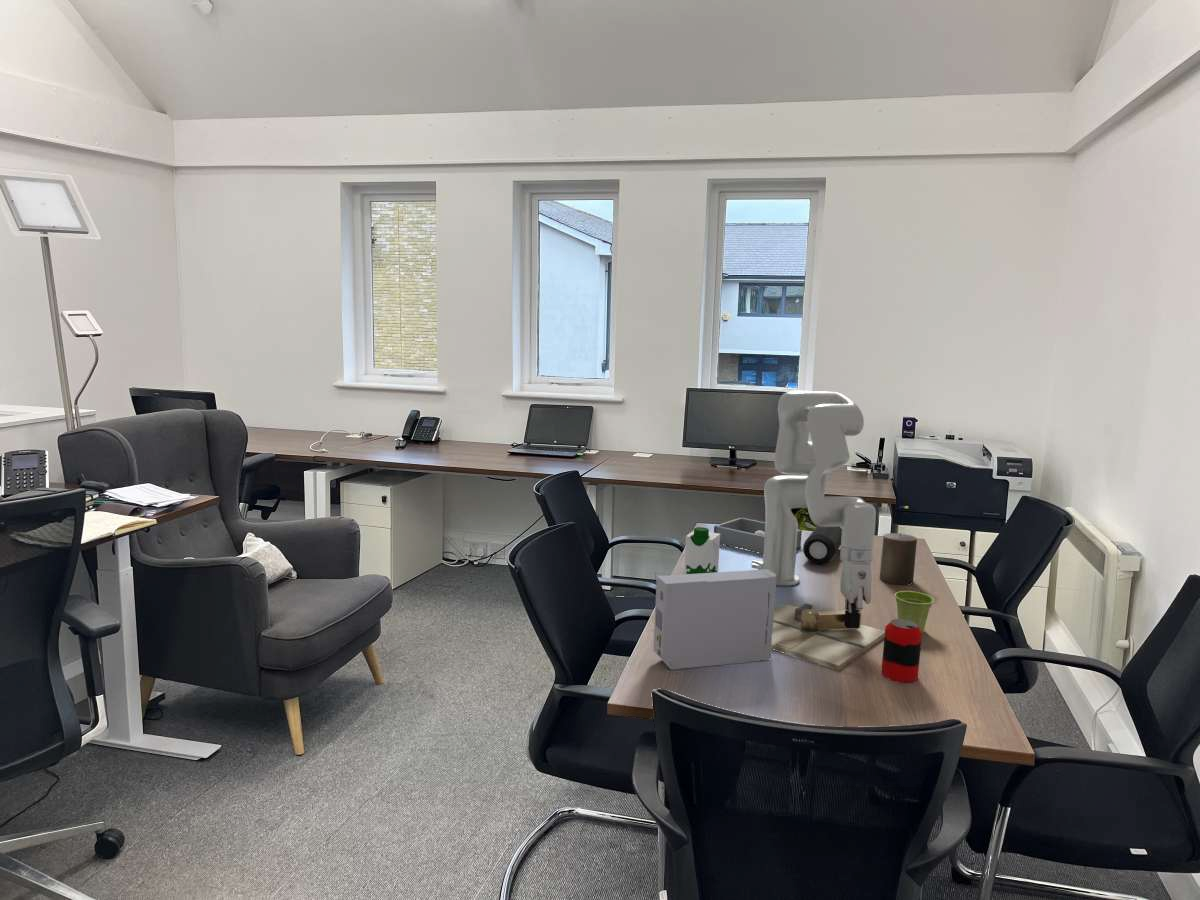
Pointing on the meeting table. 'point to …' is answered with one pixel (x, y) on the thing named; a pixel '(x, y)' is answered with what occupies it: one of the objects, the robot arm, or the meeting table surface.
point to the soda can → (901, 651)
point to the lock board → (820, 639)
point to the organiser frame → (745, 534)
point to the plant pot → (913, 607)
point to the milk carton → (702, 551)
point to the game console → (714, 618)
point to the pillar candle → (898, 558)
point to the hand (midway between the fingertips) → (851, 627)
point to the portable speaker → (822, 544)
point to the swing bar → (823, 620)
